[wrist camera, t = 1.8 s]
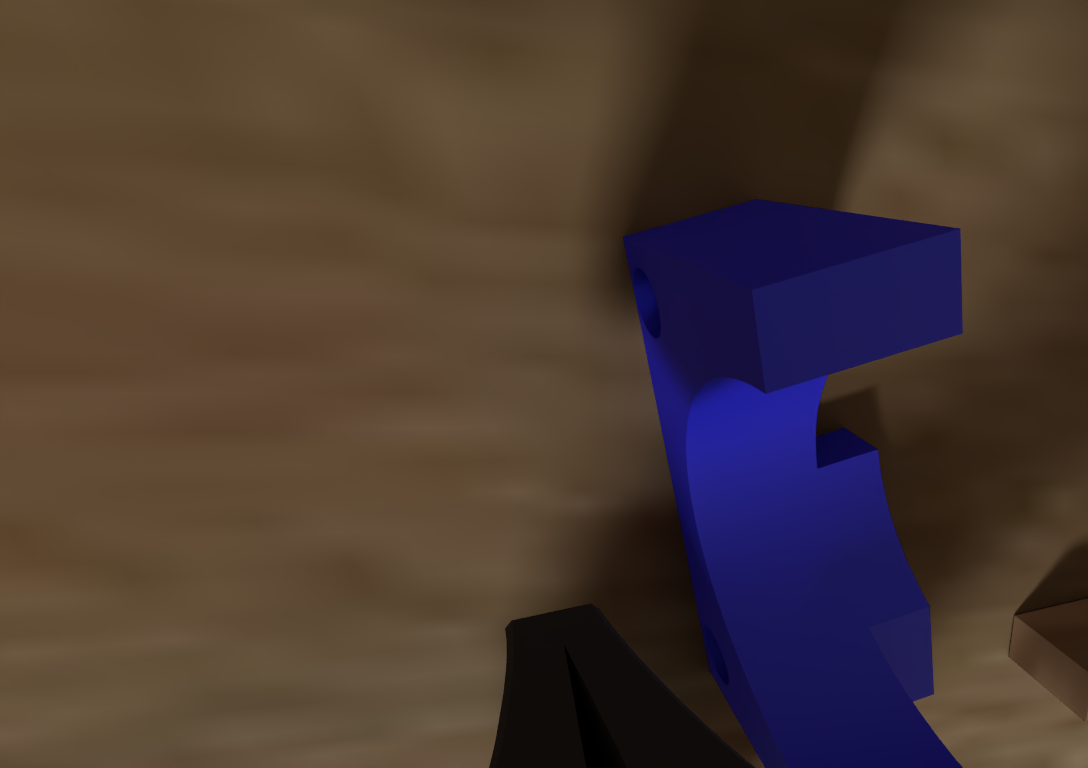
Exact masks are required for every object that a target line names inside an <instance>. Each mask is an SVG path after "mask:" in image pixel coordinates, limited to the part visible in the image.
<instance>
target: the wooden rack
mask: <svg viewBox="0 0 1088 768" xmlns="http://www.w3.org/2000/svg"><path fill="white" fill-rule="evenodd" d="M1009 657H1010V658H1011V659H1012V660H1013V661H1014V662H1015V663H1017V664H1018V665H1019V666H1020V667H1021V668H1023V669H1024V670H1025V671H1026V672H1027V673H1028V674H1030V675H1031V676H1032V677H1033V678H1034V679H1035V680H1037V681H1038V682H1039V683H1040V684H1041V685H1042V686H1044V687H1045V688H1046V689H1047V690H1048V691H1050V692H1051V693H1052V694H1053V695H1054V696H1055V697H1057V698H1058V699H1059V700H1060V701H1061V702H1062V703H1064V704H1065V705H1066V706H1067V707H1068V708H1069V709H1071V710H1072V711H1073V712H1074V713H1075V714H1077V715H1078V716H1079V717H1080V718H1081V719H1082V720H1084V721H1085V722H1087V721H1088V598H1087V599H1083V600H1078V601H1074V602H1070V603H1066V604H1061V605H1057V606H1053V607H1049V608H1044V609H1040V610H1036V611H1032V612H1027V613H1023V614H1019V615H1015V617H1014V624H1013V631H1012V637H1011V644H1010V651H1009Z"/></svg>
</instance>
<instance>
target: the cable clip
mask: <svg viewBox="0 0 1088 768" xmlns="http://www.w3.org/2000/svg"><path fill="white" fill-rule="evenodd" d="M623 239H624V244H625V249H626V254H627V259H628V264H629V269H630V274H631V279H632V284H633V289H634V294H635V299H636V304H637V309H638V314H639V319H640V324H641V329H642V334H643V339H644V344H645V349H646V354H647V359H648V364H649V369H650V374H651V379H652V384H653V389H654V394H655V399H656V404H657V409H658V414H659V419H660V424H661V429H662V434H663V439H664V444H665V449H666V454H667V459H668V464H669V469H670V474H671V479H672V484H673V489H674V494H675V499H676V504H677V509H678V514H679V519H680V523H681V528H682V533H683V538H684V543H685V548H686V553H687V558H688V563H689V568H690V573H691V578H692V583H693V588H694V593H695V598H696V603H697V608H698V613H699V618H700V623H701V628H702V633H703V638H704V643H705V648H706V653H707V658H708V663H709V668H710V672H711V674H712V676H713V677H714V679H715V681H716V683H717V684H718V686H719V688H720V690H721V691H722V693H723V695H724V697H725V698H726V700H727V702H728V704H729V705H730V707H731V709H732V711H733V712H734V714H735V716H736V718H737V719H738V721H739V723H740V725H741V726H742V728H743V730H744V732H745V733H746V735H747V737H748V739H749V740H750V742H751V744H752V746H753V747H754V749H755V751H756V753H757V754H758V756H759V758H760V760H761V761H762V763H763V765H764V767H765V768H963V767H962V766H961V765H960V764H959V763H958V762H957V760H956V759H955V758H954V757H953V756H952V754H951V753H950V752H949V751H948V749H947V748H946V747H945V745H944V744H943V743H942V742H941V740H940V739H939V738H938V737H937V735H936V734H935V733H934V731H933V730H932V729H931V727H930V726H929V724H928V723H927V722H926V720H925V719H924V717H923V716H922V715H921V713H920V712H919V711H918V709H917V708H916V706H915V705H914V703H913V701H916V700H919V699H921V698H924V697H927V696H930V695H932V694H934V686H933V665H932V643H931V622H930V606H929V604H928V602H927V600H926V599H925V597H924V595H923V593H922V591H921V589H920V587H919V585H918V583H917V581H916V579H915V577H914V574H913V572H912V570H911V568H910V566H909V563H908V561H907V559H906V557H905V554H904V551H903V549H902V546H901V544H900V541H899V539H898V536H897V533H896V530H895V527H894V524H893V521H892V518H891V515H890V511H889V507H888V504H887V500H886V496H885V492H884V487H883V482H882V477H881V470H880V463H879V455H878V449H877V448H875V447H873V446H872V445H870V444H869V443H867V442H866V441H864V440H863V439H861V438H859V437H858V436H856V435H855V434H853V433H852V432H850V431H849V430H847V429H845V428H843V429H839V430H836V431H833V432H830V433H827V434H824V435H820V436H817V437H816V422H817V414H818V407H819V402H820V397H821V393H822V390H823V387H824V384H825V381H826V378H827V376H828V375H829V374H832V373H835V372H839V371H842V370H845V369H848V368H852V367H855V366H858V365H861V364H865V363H868V362H871V361H874V360H878V359H881V358H884V357H887V356H891V355H894V354H897V353H900V352H903V351H907V350H910V349H913V348H916V347H920V346H923V345H926V344H929V343H933V342H936V341H939V340H942V339H946V338H949V337H952V336H955V335H959V334H962V333H963V331H962V285H961V238H960V229H959V228H952V227H945V226H938V225H931V224H924V223H917V222H910V221H904V220H897V219H890V218H883V217H876V216H869V215H862V214H855V213H848V212H841V211H834V210H827V209H821V208H814V207H807V206H800V205H793V204H786V203H779V202H772V201H765V200H758V199H756V200H752V201H749V202H745V203H742V204H738V205H734V206H731V207H727V208H724V209H720V210H717V211H713V212H710V213H706V214H702V215H699V216H695V217H692V218H688V219H685V220H681V221H678V222H674V223H671V224H667V225H663V226H660V227H656V228H653V229H649V230H646V231H642V232H639V233H635V234H631V235H628V236H624V237H623Z"/></svg>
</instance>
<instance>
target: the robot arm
mask: <svg viewBox="0 0 1088 768" xmlns="http://www.w3.org/2000/svg"><path fill="white" fill-rule="evenodd" d="M505 631H506V638H507V663H506V675H505V685H504V694H503V700H502V706H501V712H500V718H499V724H498V730H497V736H496V741H495V746H494V750H493V754H492V759H491V763H490V767H489V768H755V767H753V766H752V765H751V764H750V763H749V762H747V761H746V760H745V759H744V758H743V757H741V756H740V755H739V754H738V753H737V752H736V751H734V750H733V749H732V748H731V747H730V746H729V745H727V744H726V743H725V742H724V741H723V740H722V739H721V738H720V737H719V736H717V735H716V734H715V733H714V732H713V731H712V730H711V729H710V728H709V727H707V726H706V725H705V724H704V723H703V722H702V721H701V720H700V719H699V718H698V717H697V716H696V715H695V714H693V713H692V712H691V711H690V710H689V709H688V708H687V707H686V706H685V705H684V704H683V703H682V702H681V701H680V700H679V699H678V698H677V697H676V696H675V695H674V694H673V693H672V692H671V691H670V690H669V689H668V688H667V687H666V686H665V685H664V684H663V683H662V682H661V681H660V680H659V679H658V678H657V677H656V676H655V675H654V674H653V672H652V671H651V670H650V669H649V668H648V667H647V666H646V665H645V664H644V663H643V662H642V661H641V659H640V658H639V657H638V656H637V655H636V654H635V653H634V652H633V650H632V649H631V648H630V647H629V646H628V645H627V644H626V642H625V641H624V640H623V639H622V638H621V637H620V635H619V634H618V633H617V632H616V630H615V629H614V628H613V627H612V626H611V624H610V623H609V622H608V620H607V619H606V618H605V616H604V615H603V614H602V612H601V611H600V610H599V608H597V607H596V606H594V605H593V604H587V605H582V606H578V607H573V608H568V609H564V610H559V611H554V612H549V613H545V614H540V615H535V616H531V617H526V618H521V619H517V620H512V621H511V622H510V623H509V624H508V626H507V627H506V628H505Z"/></svg>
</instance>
